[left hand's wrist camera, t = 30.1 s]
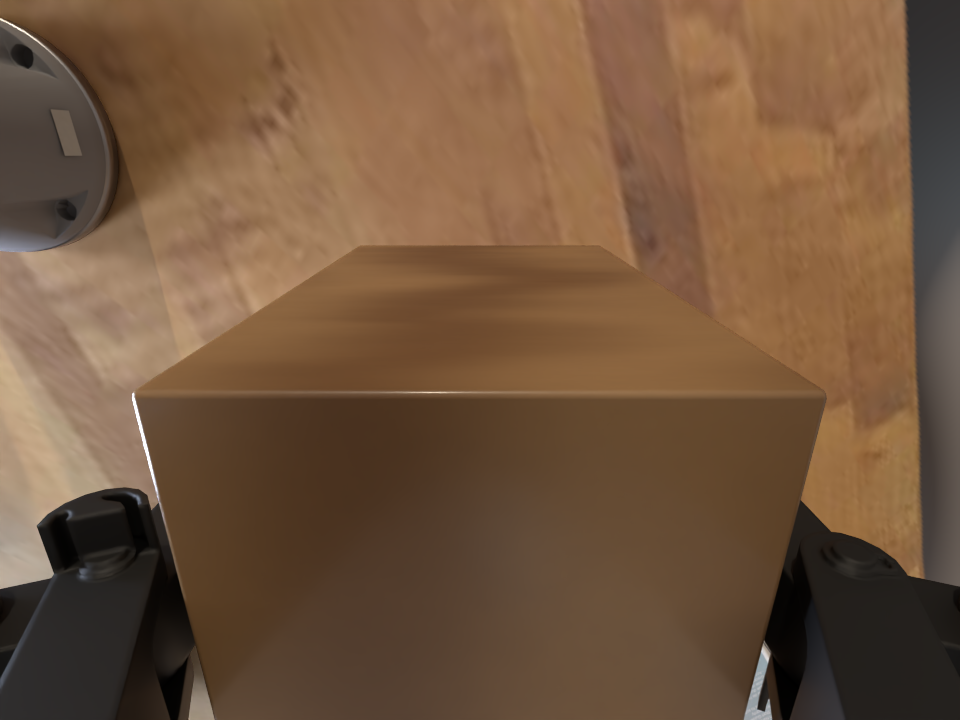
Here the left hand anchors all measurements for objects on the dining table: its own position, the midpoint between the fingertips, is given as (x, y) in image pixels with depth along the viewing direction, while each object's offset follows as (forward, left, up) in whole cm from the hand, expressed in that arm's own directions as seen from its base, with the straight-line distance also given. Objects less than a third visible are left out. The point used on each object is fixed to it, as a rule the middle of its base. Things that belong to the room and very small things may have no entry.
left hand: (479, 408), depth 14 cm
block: (0, 0, -3) cm, 3 cm away
